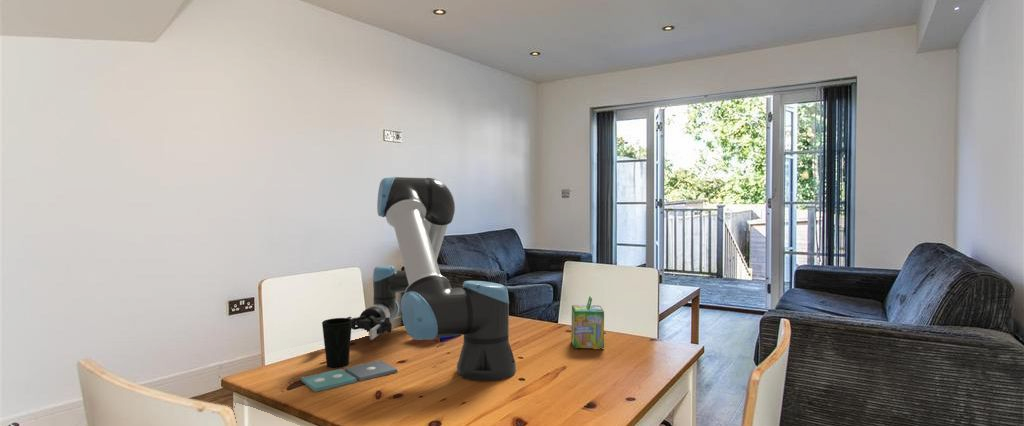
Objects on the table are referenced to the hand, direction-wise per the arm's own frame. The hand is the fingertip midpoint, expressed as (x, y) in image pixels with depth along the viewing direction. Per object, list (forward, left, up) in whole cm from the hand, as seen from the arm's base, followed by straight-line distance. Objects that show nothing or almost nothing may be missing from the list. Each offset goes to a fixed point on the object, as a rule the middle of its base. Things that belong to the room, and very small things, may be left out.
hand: (348, 334), depth 144 cm
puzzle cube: (+1, -32, -7) cm, 33 cm away
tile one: (-17, +1, -6) cm, 18 cm away
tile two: (-17, +12, -6) cm, 21 cm away
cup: (-6, +5, -7) cm, 10 cm away
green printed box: (-38, -60, -7) cm, 71 cm away
